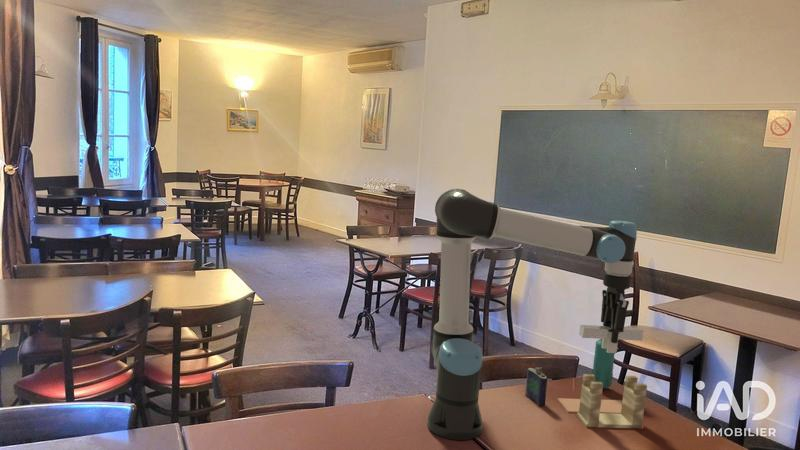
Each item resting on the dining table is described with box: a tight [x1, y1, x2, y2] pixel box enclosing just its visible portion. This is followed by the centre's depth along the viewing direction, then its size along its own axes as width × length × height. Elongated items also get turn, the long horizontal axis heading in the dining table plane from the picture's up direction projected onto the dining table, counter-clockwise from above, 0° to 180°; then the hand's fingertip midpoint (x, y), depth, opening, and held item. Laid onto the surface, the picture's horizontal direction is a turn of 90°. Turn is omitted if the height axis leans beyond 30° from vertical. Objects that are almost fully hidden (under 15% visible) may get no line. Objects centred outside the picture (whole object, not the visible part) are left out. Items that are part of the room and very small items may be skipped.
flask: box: [524, 367, 548, 407], centre depth 180 cm, size 9×3×11 cm, turn 21°
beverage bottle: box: [591, 339, 615, 389], centre depth 193 cm, size 6×7×20 cm
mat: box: [557, 397, 623, 414], centre depth 179 cm, size 21×9×1 cm, turn 95°
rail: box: [578, 324, 644, 342], centre depth 172 cm, size 18×3×3 cm, turn 93°
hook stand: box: [576, 373, 648, 429], centre depth 168 cm, size 17×7×13 cm, turn 95°
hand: (608, 350), depth 172 cm, fingers closed on rail, 3 cm apart
